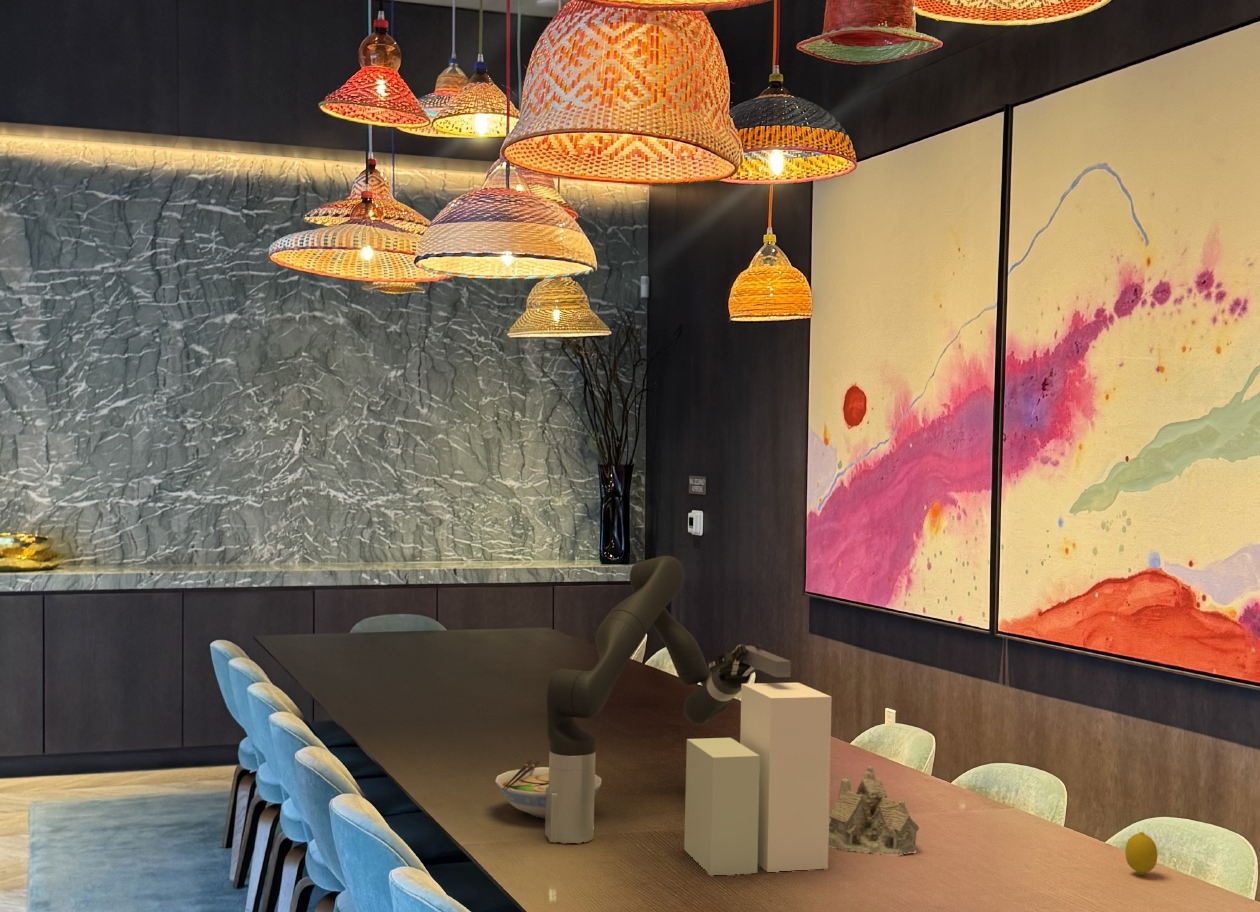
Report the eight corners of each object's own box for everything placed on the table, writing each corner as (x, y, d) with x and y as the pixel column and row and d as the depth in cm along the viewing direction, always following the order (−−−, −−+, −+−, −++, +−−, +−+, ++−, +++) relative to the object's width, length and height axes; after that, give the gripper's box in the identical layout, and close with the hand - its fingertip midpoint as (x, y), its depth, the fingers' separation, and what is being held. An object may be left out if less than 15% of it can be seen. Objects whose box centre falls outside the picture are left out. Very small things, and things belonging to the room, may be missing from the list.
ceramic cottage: (813, 837, 251) (820, 764, 250) (882, 834, 257) (889, 762, 256) (854, 865, 236) (861, 787, 236) (927, 861, 242) (934, 785, 242)
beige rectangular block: (710, 876, 225) (713, 757, 225) (684, 850, 240) (686, 739, 241) (757, 873, 227) (759, 755, 227) (728, 848, 243) (730, 737, 243)
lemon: (1148, 870, 235) (1149, 828, 235) (1162, 880, 229) (1163, 836, 229) (1120, 870, 234) (1120, 827, 235) (1132, 879, 229) (1133, 836, 229)
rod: (776, 677, 238) (776, 661, 238) (734, 658, 261) (734, 644, 261) (790, 677, 239) (791, 661, 239) (748, 658, 262) (748, 644, 262)
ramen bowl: (586, 834, 249) (587, 793, 249) (477, 825, 254) (478, 785, 254) (612, 803, 274) (613, 766, 274) (513, 795, 278) (514, 759, 279)
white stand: (767, 873, 228) (771, 698, 228) (737, 847, 243) (741, 683, 244) (827, 869, 231) (831, 696, 231) (794, 844, 246) (798, 682, 247)
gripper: (694, 662, 270) (717, 632, 255) (755, 662, 273) (781, 631, 259) (699, 696, 266) (722, 666, 252) (760, 694, 270) (787, 665, 255)
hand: (752, 649), depth 255 cm, fingers closed on rod, 3 cm apart
